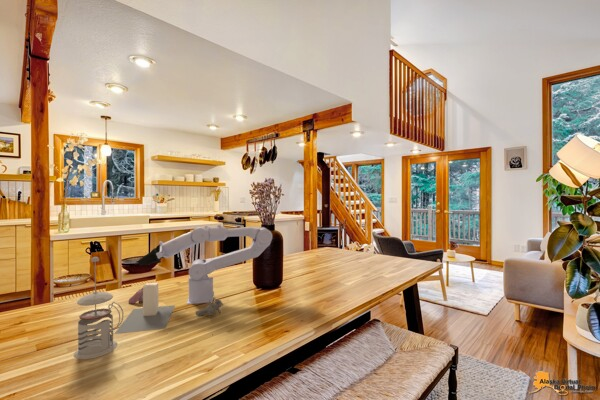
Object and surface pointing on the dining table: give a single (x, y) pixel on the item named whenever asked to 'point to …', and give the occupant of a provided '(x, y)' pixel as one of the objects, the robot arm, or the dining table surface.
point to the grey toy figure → (210, 308)
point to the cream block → (150, 299)
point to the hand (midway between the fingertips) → (141, 261)
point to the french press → (95, 325)
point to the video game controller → (137, 297)
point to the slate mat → (146, 320)
